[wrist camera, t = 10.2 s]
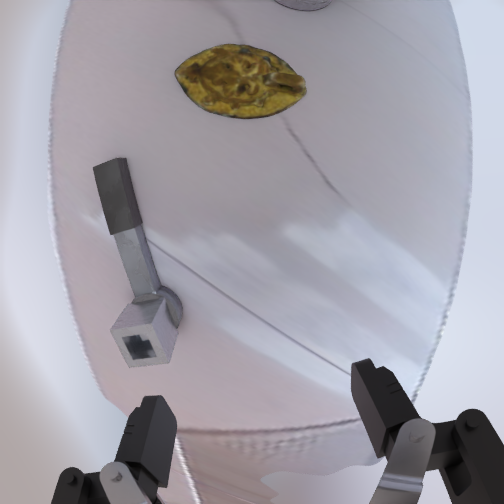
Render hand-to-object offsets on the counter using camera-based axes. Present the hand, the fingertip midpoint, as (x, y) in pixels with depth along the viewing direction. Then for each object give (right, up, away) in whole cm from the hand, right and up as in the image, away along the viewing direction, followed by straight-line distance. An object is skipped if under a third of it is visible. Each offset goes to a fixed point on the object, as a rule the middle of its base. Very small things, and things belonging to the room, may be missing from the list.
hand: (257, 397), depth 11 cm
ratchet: (-14, +6, +22) cm, 27 cm away
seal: (-2, +25, +18) cm, 31 cm away
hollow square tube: (-12, -2, +22) cm, 25 cm away
